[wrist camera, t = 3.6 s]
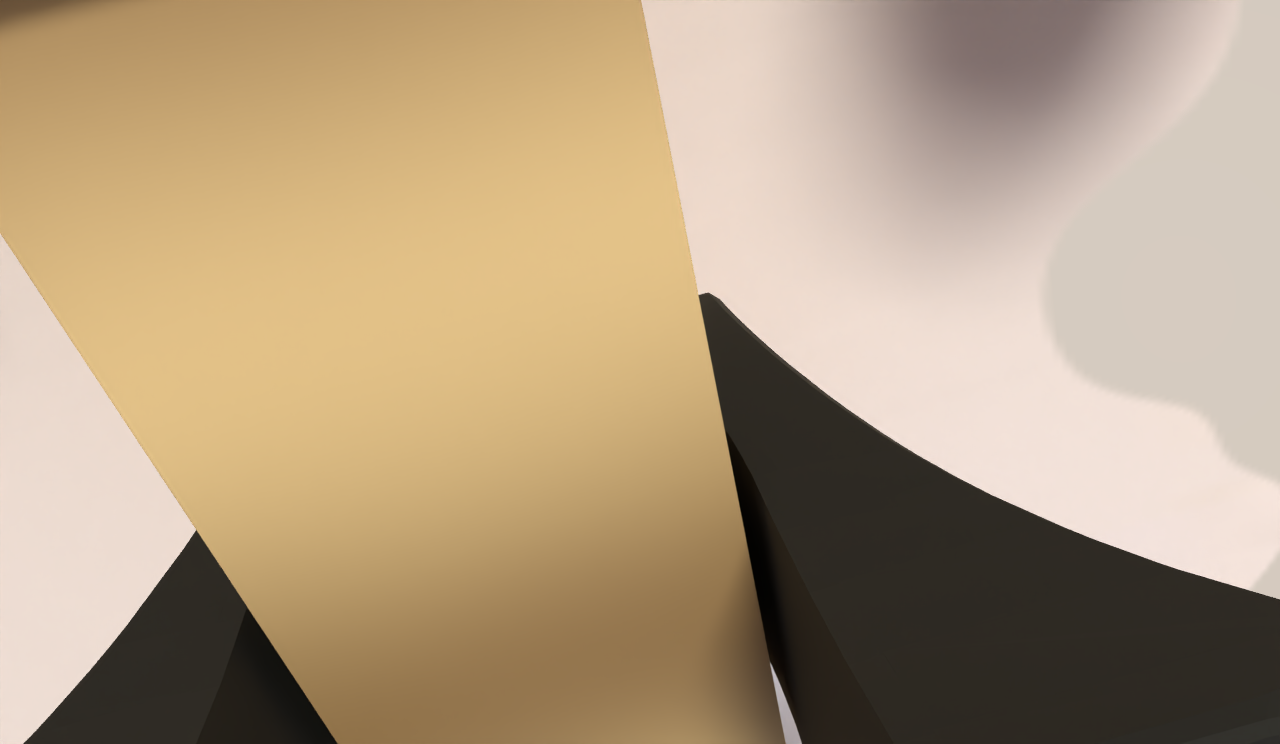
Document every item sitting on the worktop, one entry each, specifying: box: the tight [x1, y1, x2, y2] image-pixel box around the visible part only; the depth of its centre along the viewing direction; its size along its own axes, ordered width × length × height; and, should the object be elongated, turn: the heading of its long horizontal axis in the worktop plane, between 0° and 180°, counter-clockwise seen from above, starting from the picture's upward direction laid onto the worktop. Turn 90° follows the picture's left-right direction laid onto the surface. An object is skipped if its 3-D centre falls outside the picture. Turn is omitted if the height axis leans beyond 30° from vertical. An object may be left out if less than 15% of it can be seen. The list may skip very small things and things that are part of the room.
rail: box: [0, 0, 786, 744], centre depth 10 cm, size 15×4×6 cm, turn 11°
